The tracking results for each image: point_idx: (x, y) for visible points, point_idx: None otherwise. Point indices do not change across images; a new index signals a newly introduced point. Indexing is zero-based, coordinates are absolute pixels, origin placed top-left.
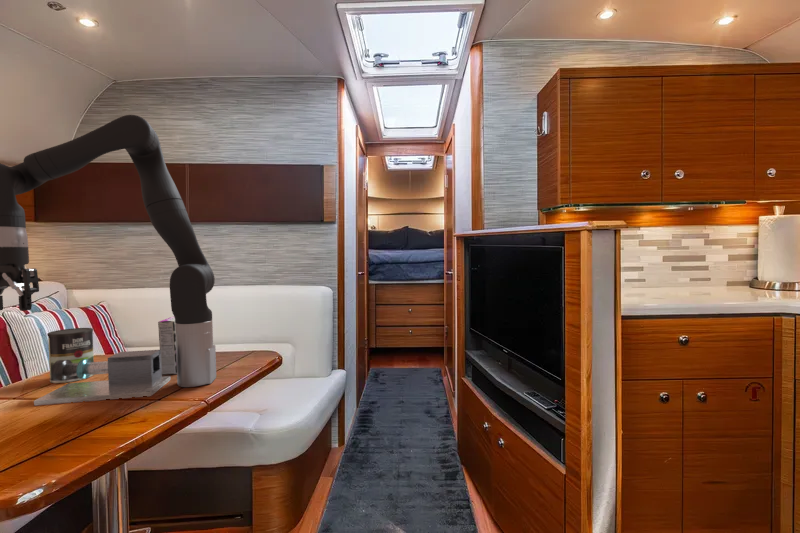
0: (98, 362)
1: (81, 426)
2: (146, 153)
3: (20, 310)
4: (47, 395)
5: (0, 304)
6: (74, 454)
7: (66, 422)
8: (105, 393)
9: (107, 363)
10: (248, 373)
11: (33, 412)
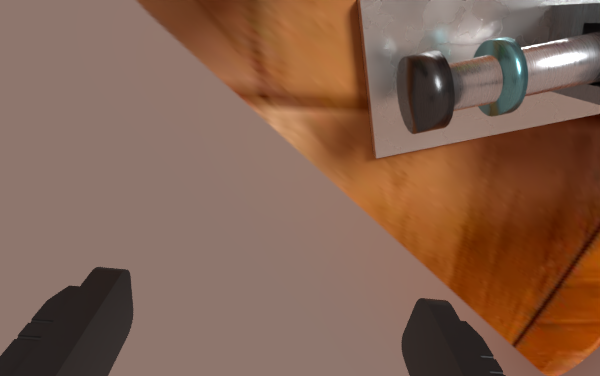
0: (565, 77)
1: (548, 250)
2: None
3: (404, 344)
4: (381, 121)
5: (104, 324)
6: (580, 321)
7: (511, 235)
8: (540, 111)
9: (596, 76)
10: None
11: (405, 190)
